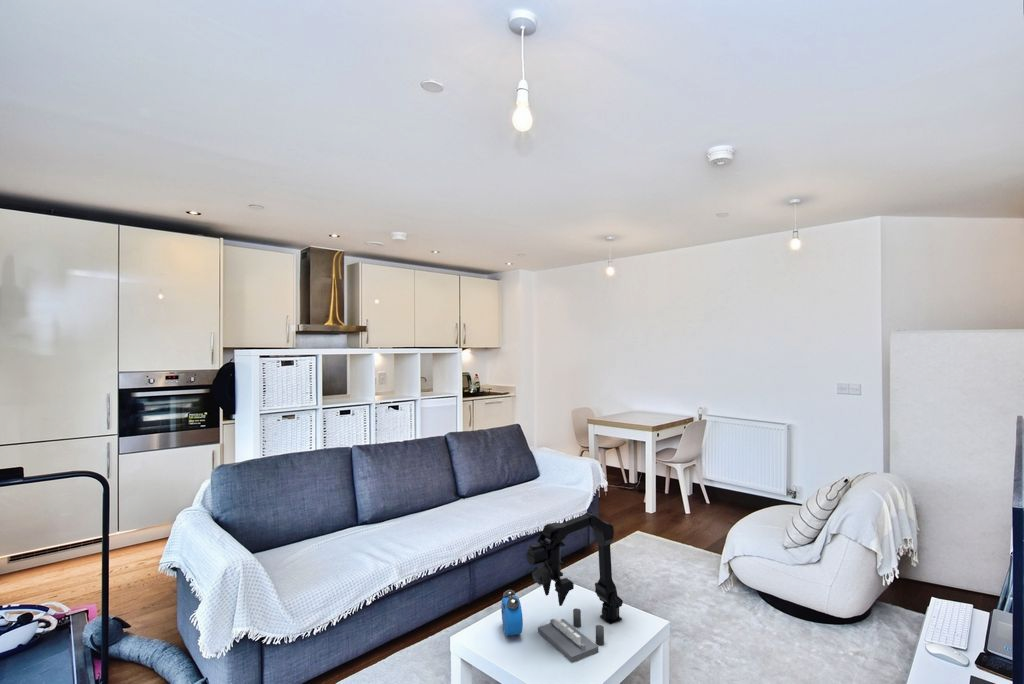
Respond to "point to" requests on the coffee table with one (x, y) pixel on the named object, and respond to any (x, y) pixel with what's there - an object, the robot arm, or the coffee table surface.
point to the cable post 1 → (577, 618)
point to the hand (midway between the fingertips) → (553, 600)
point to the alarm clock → (511, 614)
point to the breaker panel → (568, 642)
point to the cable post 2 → (599, 635)
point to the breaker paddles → (567, 631)
